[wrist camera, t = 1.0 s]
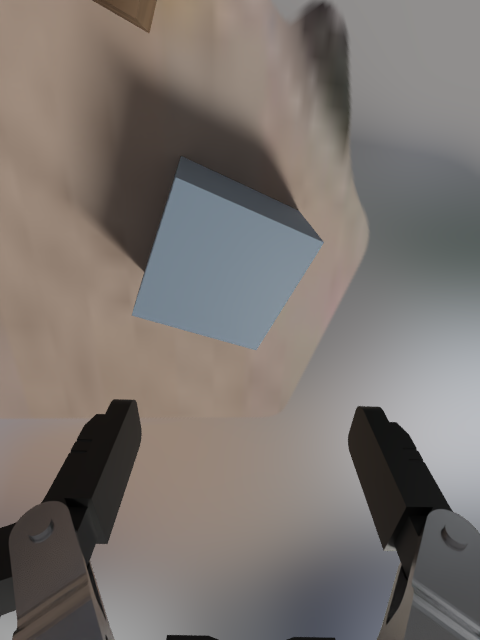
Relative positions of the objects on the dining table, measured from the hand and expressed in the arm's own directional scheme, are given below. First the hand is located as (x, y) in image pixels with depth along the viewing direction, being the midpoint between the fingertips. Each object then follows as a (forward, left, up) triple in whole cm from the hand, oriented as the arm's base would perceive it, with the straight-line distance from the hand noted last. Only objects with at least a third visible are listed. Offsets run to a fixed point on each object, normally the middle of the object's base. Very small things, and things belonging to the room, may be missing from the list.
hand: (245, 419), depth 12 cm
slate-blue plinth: (+1, -3, -24) cm, 24 cm away
